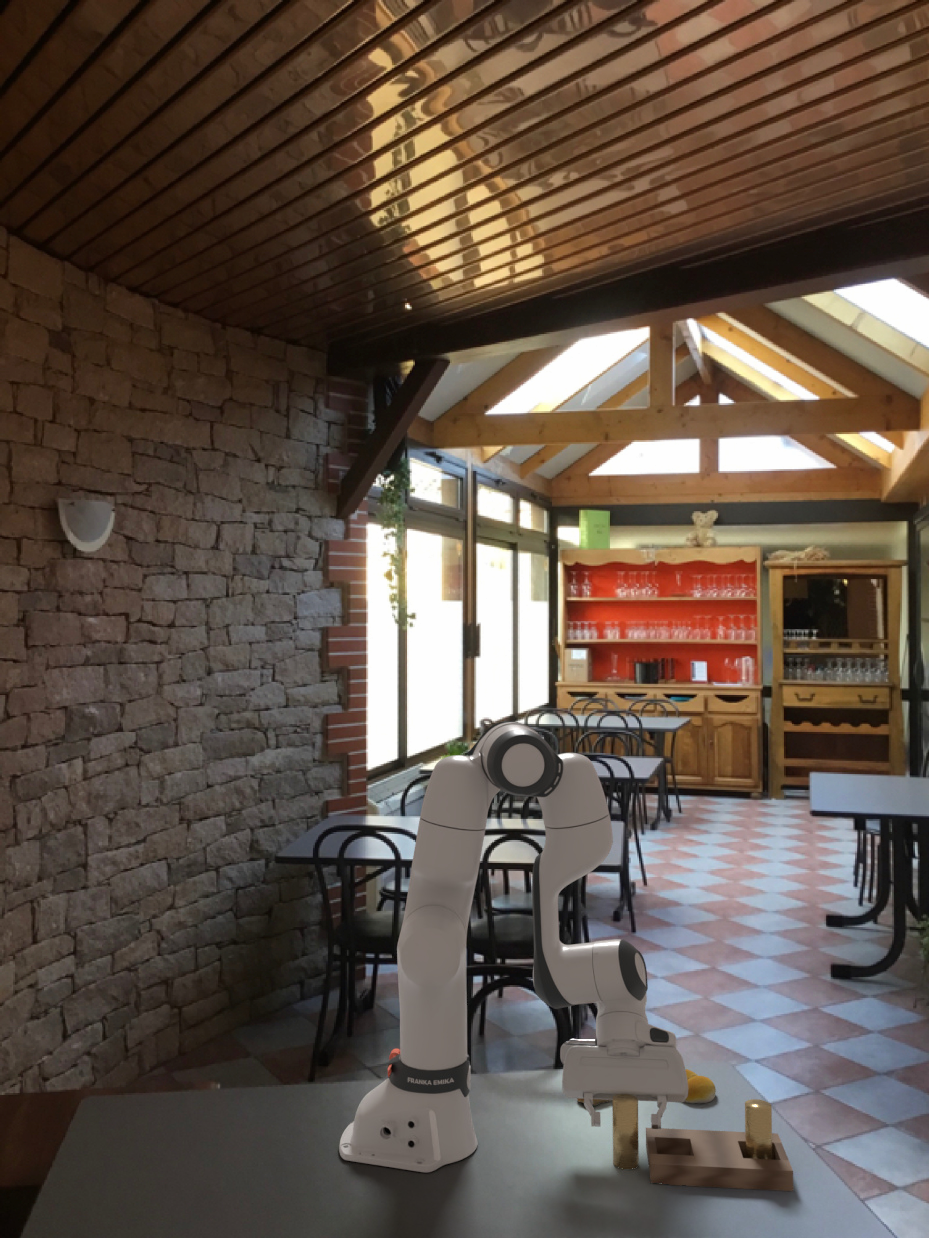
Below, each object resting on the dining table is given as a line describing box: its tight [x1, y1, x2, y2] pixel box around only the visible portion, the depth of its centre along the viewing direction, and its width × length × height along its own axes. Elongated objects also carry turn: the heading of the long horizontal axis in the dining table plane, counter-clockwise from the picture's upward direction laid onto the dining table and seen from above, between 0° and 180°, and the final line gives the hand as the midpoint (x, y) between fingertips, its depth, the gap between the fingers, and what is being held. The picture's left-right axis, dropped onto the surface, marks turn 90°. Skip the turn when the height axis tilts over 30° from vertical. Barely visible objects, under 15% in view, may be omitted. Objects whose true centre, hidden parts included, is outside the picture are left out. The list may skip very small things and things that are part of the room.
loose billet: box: [611, 1094, 640, 1170], centre depth 164 cm, size 4×4×10 cm
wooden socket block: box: [645, 1127, 794, 1192], centre depth 162 cm, size 21×12×3 cm, turn 84°
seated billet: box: [744, 1098, 773, 1160], centre depth 161 cm, size 4×4×10 cm
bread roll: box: [683, 1068, 717, 1104], centre depth 189 cm, size 8×9×4 cm
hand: (626, 1126), depth 163 cm, fingers open, 8 cm apart
